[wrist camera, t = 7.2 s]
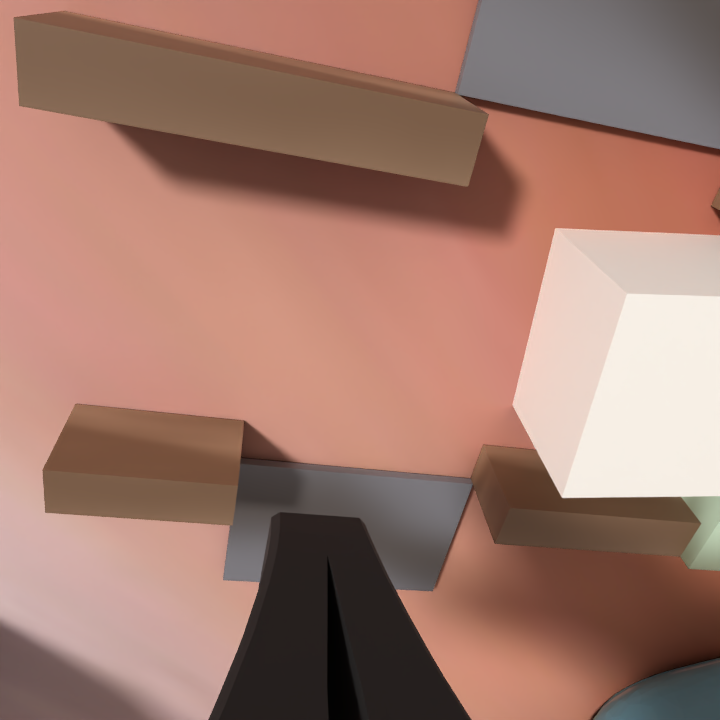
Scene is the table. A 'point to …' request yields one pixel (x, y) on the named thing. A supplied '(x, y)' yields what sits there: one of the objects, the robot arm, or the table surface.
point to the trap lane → (393, 155)
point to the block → (626, 365)
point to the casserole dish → (669, 696)
